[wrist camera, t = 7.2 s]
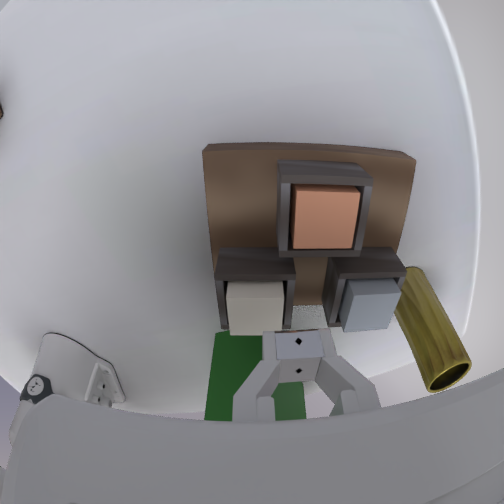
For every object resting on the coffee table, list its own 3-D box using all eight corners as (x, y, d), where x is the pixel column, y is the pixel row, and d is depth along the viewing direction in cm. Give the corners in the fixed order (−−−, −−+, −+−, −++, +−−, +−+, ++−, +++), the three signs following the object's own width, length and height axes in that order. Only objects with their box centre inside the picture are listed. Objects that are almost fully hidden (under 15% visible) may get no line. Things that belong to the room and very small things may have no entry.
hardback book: (302, 384, 44) (313, 517, 24) (261, 392, 45) (261, 521, 25) (268, 320, 35) (272, 518, 15) (215, 333, 37) (194, 514, 16)
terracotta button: (341, 227, 23) (351, 248, 20) (289, 227, 23) (293, 248, 20) (347, 178, 21) (360, 193, 18) (291, 176, 21) (296, 191, 18)
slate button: (377, 305, 26) (387, 328, 23) (336, 307, 26) (343, 332, 24) (388, 270, 24) (401, 292, 21) (344, 271, 24) (354, 295, 21)
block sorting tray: (373, 284, 32) (392, 327, 26) (221, 287, 32) (213, 334, 26) (401, 151, 23) (440, 175, 17) (208, 144, 23) (191, 165, 17)
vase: (387, 310, 34) (422, 401, 22) (378, 279, 31) (423, 379, 19) (426, 291, 32) (471, 376, 20) (422, 258, 30) (479, 348, 18)
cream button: (279, 309, 26) (281, 335, 24) (232, 309, 26) (230, 335, 24) (281, 272, 24) (284, 297, 21) (229, 272, 24) (226, 297, 21)
